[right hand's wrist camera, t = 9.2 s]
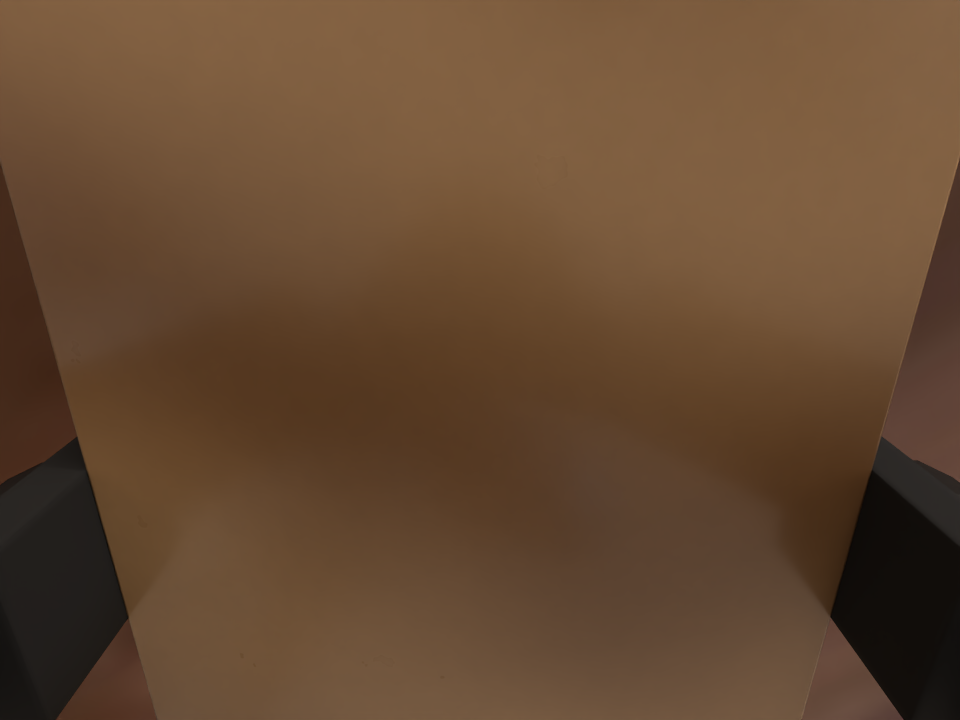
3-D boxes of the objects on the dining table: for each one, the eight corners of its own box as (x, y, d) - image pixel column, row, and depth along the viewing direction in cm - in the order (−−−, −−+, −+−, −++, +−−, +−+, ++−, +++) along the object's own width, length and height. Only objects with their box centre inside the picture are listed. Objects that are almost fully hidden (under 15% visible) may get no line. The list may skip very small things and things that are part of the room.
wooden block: (260, -16, 15) (-127, -277, 5) (697, -16, 15) (1084, -276, 5) (314, 445, 20) (160, 737, 10) (643, 444, 20) (798, 736, 10)
